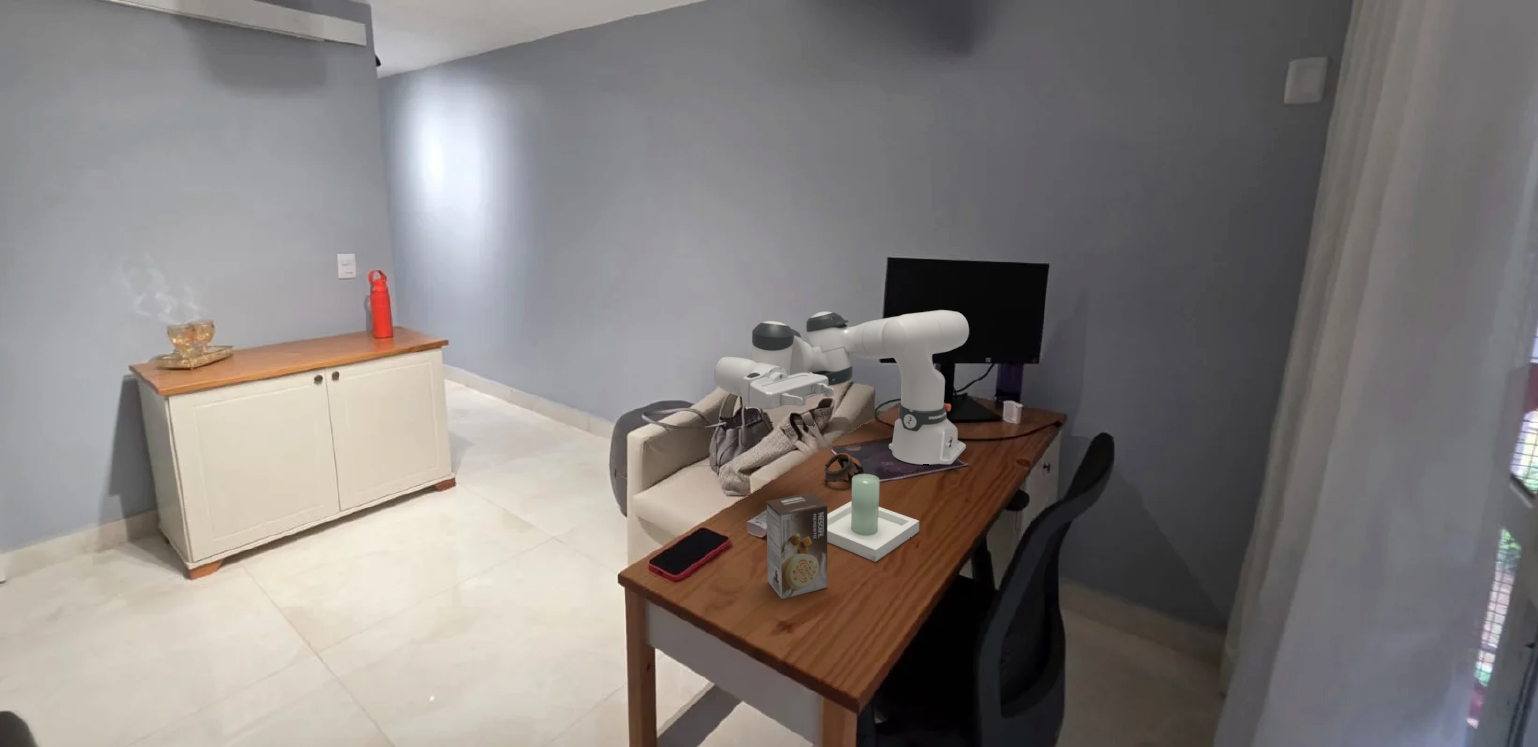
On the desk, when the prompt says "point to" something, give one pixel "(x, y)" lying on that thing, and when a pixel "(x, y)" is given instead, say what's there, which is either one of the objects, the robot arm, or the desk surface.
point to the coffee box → (797, 544)
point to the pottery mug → (843, 467)
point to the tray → (870, 546)
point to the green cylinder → (865, 504)
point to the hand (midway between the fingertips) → (818, 397)
